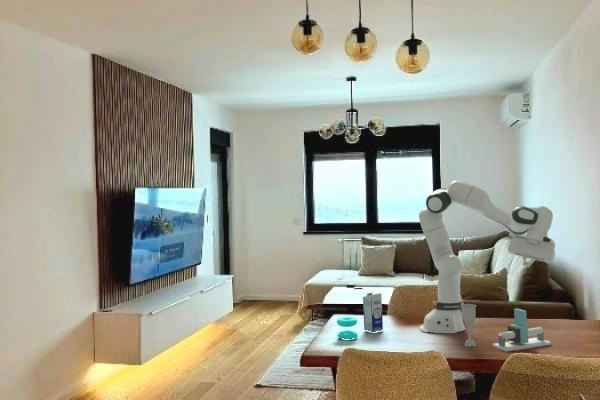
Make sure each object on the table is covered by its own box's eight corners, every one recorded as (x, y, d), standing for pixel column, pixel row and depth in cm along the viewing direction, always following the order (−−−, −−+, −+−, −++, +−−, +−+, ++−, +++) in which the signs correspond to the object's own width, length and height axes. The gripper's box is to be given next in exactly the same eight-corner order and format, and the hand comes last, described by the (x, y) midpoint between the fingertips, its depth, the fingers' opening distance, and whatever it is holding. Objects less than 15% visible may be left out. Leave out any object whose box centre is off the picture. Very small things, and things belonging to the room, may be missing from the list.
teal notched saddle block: (521, 343, 242) (519, 311, 242) (510, 340, 249) (508, 309, 249) (528, 342, 243) (527, 311, 243) (517, 339, 250) (516, 308, 250)
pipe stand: (506, 351, 238) (505, 335, 238) (492, 346, 247) (492, 330, 247) (550, 344, 246) (550, 328, 246) (536, 340, 255) (535, 324, 255)
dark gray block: (517, 343, 242) (516, 329, 242) (508, 339, 248) (507, 326, 248) (520, 342, 243) (519, 328, 243) (510, 339, 248) (510, 325, 248)
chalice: (459, 343, 254) (458, 304, 254) (474, 342, 255) (472, 303, 255) (466, 347, 247) (464, 307, 247) (480, 346, 248) (479, 306, 248)
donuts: (333, 319, 270) (341, 315, 279) (334, 340, 270) (342, 335, 279) (352, 321, 265) (360, 317, 274) (353, 342, 265) (360, 337, 274)
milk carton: (373, 334, 279) (371, 294, 279) (364, 331, 284) (362, 293, 284) (383, 331, 283) (381, 292, 283) (374, 329, 288) (372, 291, 288)
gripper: (511, 231, 262) (502, 257, 259) (556, 240, 249) (547, 268, 245) (514, 237, 267) (505, 263, 263) (559, 246, 253) (550, 273, 250)
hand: (526, 265), depth 254 cm, fingers closed
